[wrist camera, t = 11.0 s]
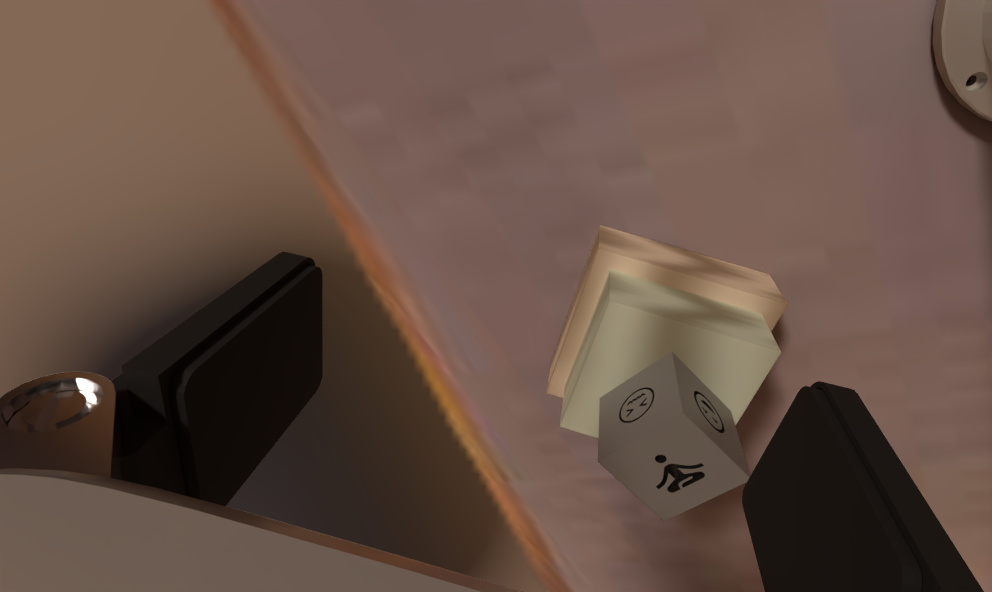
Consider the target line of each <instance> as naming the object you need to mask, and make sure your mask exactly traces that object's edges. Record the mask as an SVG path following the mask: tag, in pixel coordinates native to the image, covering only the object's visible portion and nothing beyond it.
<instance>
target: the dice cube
mask: <svg viewBox="0 0 992 592" xmlns="http://www.w3.org/2000/svg"><path fill="white" fill-rule="evenodd" d="M598 462H599V463H600V464H601V465H602V466H603V467H604V468H605V469H606V470H608V471H609V472H610V473H611V474H612V475H613V476H614V477H615V478H616V479H618V480H619V481H620V482H621V483H622V484H623V485H624V486H625V487H626V488H627V489H629V490H630V491H631V492H632V493H633V494H634V495H635V496H636V497H637V498H639V499H640V500H641V501H642V502H643V503H644V504H645V505H646V506H647V507H649V508H650V509H651V510H652V511H653V512H654V513H655V514H656V515H657V516H659V517H660V518H661V519H662V520H663V521H666V520H668V519H670V518H673V517H675V516H677V515H679V514H681V513H683V512H685V511H687V510H689V509H691V508H694V507H696V506H698V505H700V504H702V503H704V502H706V501H708V500H710V499H712V498H715V497H717V496H719V495H721V494H723V493H725V492H727V491H729V490H731V489H733V488H735V487H738V486H740V485H742V484H744V483H746V482H747V481H748V480H749V478H750V476H751V475H750V472H749V469H748V466H747V462H746V459H745V456H744V452H743V449H742V446H741V443H740V439H739V436H738V433H737V430H736V426H735V423H734V420H733V417H732V413H731V410H730V409H729V408H728V407H727V406H726V405H725V404H724V403H723V402H722V401H721V400H720V399H719V398H718V397H717V396H716V395H715V394H714V393H713V392H712V391H711V390H710V389H709V388H708V387H707V386H706V385H705V384H704V383H703V382H702V381H701V380H700V379H699V378H698V377H697V376H696V375H695V374H694V373H693V372H692V371H691V370H690V369H689V368H688V367H687V366H686V365H685V364H684V363H683V362H682V361H681V360H680V359H679V358H678V357H677V356H676V355H675V354H674V353H673V352H672V351H671V352H670V353H668V354H667V355H665V356H664V357H662V358H661V359H659V360H657V361H656V362H654V363H653V364H651V365H650V366H648V367H647V368H645V369H644V370H642V371H640V372H639V373H637V374H636V375H634V376H633V377H631V378H630V379H628V380H627V381H625V382H623V383H622V384H620V385H619V386H617V387H616V388H614V389H613V390H611V391H610V392H608V393H607V394H605V395H603V396H602V397H600V401H599V438H598Z"/></svg>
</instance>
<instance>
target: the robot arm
mask: <svg viewBox="0 0 992 592" xmlns="http://www.w3.org/2000/svg"><path fill="white" fill-rule="evenodd" d="M933 49H934V55H935V60H936V66H937V69H938V71H939V73H940V75H941V77H942V80H943V82H944V84H945V86H946V88H947V89H948V90H949V92H950V93H951V94H952V95H953V96H954V98H955V99H956V100H957V101H958V102H959V104H961V105H962V106H963V107H965V108H966V109H968V110H969V111H971V112H972V113H973V114H975V115H976V116H978V117H980V118H982V119H985V120H988V121H990V122H992V0H938V1H937V6H936V10H935V14H934V21H933ZM970 76H971V81H970V82H969V83H968V84H966V82H967V79H968V78H969V77H970ZM122 370H123V374H121V375H120V376H118V377H117V378H116V379H114V380H113V381H112V382H110V381H109V380H108V379H107V378H106V377H103V376H101V375H98V374H95V373H88V372H64V373H57V374H52V375H48V376H43V377H40V378H37V379H34V380H32V381H29V382H26V383H24V384H21V385H20V386H18V387H16V388H14V389H12V390H11V391H9V392H7V393H6V394H4V395H3V396H2V397H1V398H0V592H522V591H518V590H514V589H512V588H508V587H505V586H501V585H497V584H494V583H491V582H487V581H484V580H481V579H477V578H474V577H470V576H467V575H464V574H460V573H456V572H453V571H450V570H446V569H443V568H440V567H436V566H433V565H429V564H426V563H422V562H419V561H416V560H412V559H409V558H405V557H402V556H398V555H395V554H391V553H388V552H384V551H380V550H377V549H374V548H370V547H367V546H363V545H360V544H356V543H353V542H350V541H346V540H343V539H339V538H336V537H332V536H329V535H325V534H321V533H318V532H315V531H311V530H307V529H304V528H301V527H297V526H294V525H290V524H286V523H283V522H280V521H276V520H273V519H269V518H266V517H262V516H259V515H255V514H252V513H248V512H244V511H241V510H237V509H233V508H229V507H226V505H227V503H228V502H229V501H230V500H231V499H232V497H233V496H234V495H235V494H236V492H237V491H238V490H239V489H240V487H241V486H242V485H243V483H244V482H245V481H246V480H247V478H248V477H249V476H250V475H251V473H252V472H253V471H254V470H255V468H256V467H257V466H258V464H259V463H260V462H261V461H262V459H263V458H264V457H265V456H266V454H267V453H268V452H269V451H270V449H271V448H272V447H273V446H274V444H275V443H276V442H277V441H278V439H279V438H280V437H281V435H282V434H283V433H284V432H285V430H286V429H287V428H288V427H289V425H290V424H291V423H292V422H293V420H294V419H295V418H296V416H297V415H298V414H299V413H300V411H301V410H302V409H303V408H304V406H305V405H306V404H307V402H308V401H309V400H310V399H311V398H312V396H313V395H314V394H315V392H316V391H317V389H318V387H319V385H320V382H321V379H322V271H321V269H320V268H319V267H315V263H314V260H313V259H311V258H308V257H304V256H300V255H296V254H292V253H288V252H281V253H279V254H278V255H276V256H275V257H274V258H272V259H271V260H269V261H268V262H267V263H265V264H264V265H262V266H261V267H260V268H258V269H257V270H256V271H254V272H253V273H251V274H250V275H248V276H247V277H246V278H244V279H243V280H241V281H240V282H239V283H237V284H236V285H234V286H233V287H232V288H230V289H229V290H228V291H226V292H225V293H223V294H222V295H220V296H219V297H218V298H216V299H215V300H213V301H212V302H211V303H209V304H208V305H206V306H205V307H204V308H202V309H201V310H199V311H198V312H197V313H195V314H194V315H192V316H191V317H190V318H188V319H187V320H185V321H184V322H183V323H181V324H180V325H178V326H177V327H176V328H174V329H173V330H171V331H170V332H169V333H167V334H166V335H164V336H163V337H162V338H160V339H159V340H157V341H156V342H155V343H153V344H152V345H151V346H149V347H148V348H146V349H145V350H143V351H142V352H141V353H139V354H138V355H136V356H135V357H134V358H132V359H131V360H129V361H128V362H127V363H125V364H124V365H122ZM742 503H743V508H744V512H745V516H746V520H747V524H748V527H749V531H750V535H751V539H752V543H753V547H754V550H755V554H756V558H757V562H758V566H759V570H760V574H761V577H762V581H763V585H764V589H765V592H984V591H983V590H982V588H981V587H980V585H979V583H978V582H977V580H976V579H975V577H974V576H973V574H972V572H971V571H970V569H969V568H968V566H967V565H966V563H965V561H964V560H963V558H962V557H961V555H960V554H959V552H958V551H957V549H956V547H955V546H954V544H953V543H952V541H951V540H950V538H949V536H948V535H947V533H946V532H945V530H944V529H943V527H942V525H941V524H940V522H939V521H938V519H937V518H936V516H935V514H934V513H933V511H932V510H931V508H930V507H929V505H928V504H927V502H926V500H925V499H924V497H923V496H922V494H921V493H920V491H919V489H918V488H917V486H916V485H915V483H914V482H913V480H912V478H911V477H910V475H909V474H908V472H907V471H906V469H905V467H904V466H903V464H902V463H901V461H900V460H899V458H898V457H897V455H896V453H895V452H894V450H893V449H892V447H891V446H890V444H889V442H888V441H887V439H886V438H885V436H884V435H883V433H882V431H881V430H880V428H879V427H878V425H877V424H876V422H875V420H874V419H873V417H872V416H871V414H870V413H869V411H868V410H867V408H866V406H865V405H864V403H863V402H862V400H861V399H860V397H859V395H858V394H857V393H856V392H855V391H854V390H852V389H849V388H845V387H841V386H837V385H833V384H828V383H824V382H820V381H819V382H815V383H814V384H813V385H812V386H811V387H808V386H805V387H803V388H801V389H800V391H799V392H798V394H797V395H796V397H795V399H794V401H793V403H792V404H791V406H790V408H789V410H788V411H787V413H786V415H785V417H784V418H783V420H782V422H781V424H780V425H779V427H778V429H777V431H776V432H775V434H774V436H773V438H772V439H771V441H770V443H769V445H768V446H767V448H766V450H765V452H764V453H763V455H762V457H761V459H760V460H759V462H758V464H757V466H756V467H755V469H754V471H753V473H752V474H751V476H750V478H749V480H748V481H747V483H746V485H745V487H744V490H743V496H742Z"/></svg>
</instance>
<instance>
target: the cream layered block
mask: <svg viewBox="0 0 992 592" xmlns="http://www.w3.org/2000/svg"><path fill="white" fill-rule="evenodd" d="M787 305H788V304H787V303H786V301H785V299H784V298H783V296H782V294H781V293H780V291H779V290H778V288H777V286H776V285H775V283H774V281H773V280H772V278H771V277H770V275H769V274H766V273H763V272H759V271H756V270H753V269H749V268H746V267H742V266H739V265H735V264H732V263H729V262H725V261H722V260H718V259H715V258H711V257H708V256H705V255H701V254H698V253H694V252H691V251H687V250H684V249H681V248H677V247H674V246H670V245H667V244H664V243H660V242H657V241H653V240H650V239H646V238H643V237H640V236H636V235H633V234H629V233H626V232H622V231H619V230H616V229H612V228H609V227H605V226H602V225H600V226H599V229H598V232H597V235H596V238H595V240H594V243H593V246H592V249H591V252H590V254H589V257H588V260H587V263H586V266H585V268H584V271H583V274H582V277H581V280H580V282H579V285H578V288H577V291H576V294H575V296H574V299H573V302H572V305H571V308H570V310H569V313H568V316H567V319H566V322H565V325H564V327H563V330H562V333H561V336H560V339H559V341H558V344H557V347H556V350H555V353H554V355H553V358H552V363H551V369H550V374H549V380H548V386H547V392H546V393H549V394H552V395H555V396H559V397H562V398H563V406H562V414H561V422H560V426H561V427H564V428H567V429H570V430H573V431H577V432H580V433H583V434H586V435H589V436H592V437H596V438H599V401H600V397H602V396H603V395H605V394H607V393H608V392H610V391H611V390H613V389H614V388H616V387H617V386H619V385H620V384H622V383H623V382H625V381H627V380H628V379H630V378H631V377H633V376H634V375H636V374H637V373H639V372H640V371H642V370H644V369H645V368H647V367H648V366H650V365H651V364H653V363H654V362H656V361H657V360H659V359H661V358H662V357H664V356H665V355H667V354H668V353H670V352H671V351H672V352H673V353H674V354H675V355H676V356H677V357H678V358H679V359H680V360H681V361H682V362H683V363H684V364H685V365H686V366H687V367H688V368H689V369H690V370H691V371H692V372H693V373H694V374H695V375H696V376H697V377H698V378H699V379H700V380H701V381H702V382H703V383H704V384H705V385H706V386H707V387H708V388H709V389H710V390H711V391H712V392H713V393H714V394H715V395H716V396H717V397H718V398H719V399H720V400H721V401H722V402H723V403H724V404H725V405H726V406H727V407H728V408H729V409H730V410H731V413H732V417H733V420H734V423H735V426H736V424H737V422H738V421H739V419H740V418H741V416H742V414H743V413H744V411H745V410H746V408H747V406H748V405H749V403H750V402H751V400H752V398H753V397H754V395H755V394H756V392H757V390H758V389H759V387H760V386H761V384H762V382H763V381H764V379H765V378H766V376H767V374H768V373H769V371H770V369H771V368H772V366H773V365H774V363H775V361H776V360H777V358H778V357H779V355H780V353H781V351H780V349H779V347H778V345H777V343H776V341H775V339H774V337H773V335H772V333H771V331H772V330H773V328H774V326H775V325H776V323H777V321H778V320H779V318H780V316H781V315H782V313H783V311H784V310H785V308H786V306H787Z"/></svg>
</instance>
